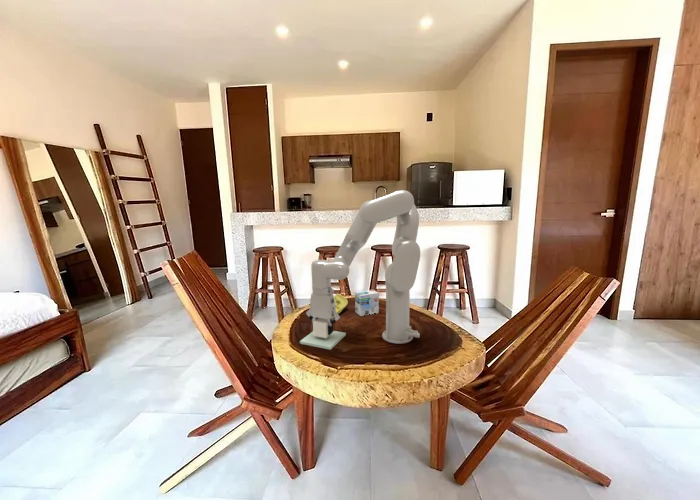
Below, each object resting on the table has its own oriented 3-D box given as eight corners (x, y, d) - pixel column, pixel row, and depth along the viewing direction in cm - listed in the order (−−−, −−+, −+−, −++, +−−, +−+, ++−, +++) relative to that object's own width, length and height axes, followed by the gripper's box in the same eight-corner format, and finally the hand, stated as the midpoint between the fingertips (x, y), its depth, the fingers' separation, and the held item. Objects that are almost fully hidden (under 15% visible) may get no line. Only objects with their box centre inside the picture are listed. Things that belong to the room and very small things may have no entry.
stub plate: (345, 335, 130) (345, 326, 130) (330, 349, 118) (330, 340, 117) (317, 330, 136) (317, 321, 135) (299, 343, 123) (299, 334, 123)
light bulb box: (360, 316, 151) (360, 295, 149) (354, 312, 157) (354, 292, 155) (379, 313, 155) (379, 292, 153) (373, 308, 161) (373, 289, 159)
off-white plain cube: (333, 332, 128) (332, 318, 127) (326, 338, 122) (325, 324, 122) (320, 330, 130) (320, 316, 129) (313, 335, 125) (312, 321, 124)
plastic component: (331, 316, 145) (315, 305, 149) (326, 328, 148) (310, 317, 152) (351, 301, 162) (336, 291, 165) (346, 312, 165) (331, 302, 168)
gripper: (344, 290, 123) (346, 332, 126) (308, 286, 130) (310, 326, 133) (336, 295, 117) (338, 339, 119) (298, 291, 124) (300, 332, 126)
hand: (323, 332), depth 126 cm, fingers closed on off-white plain cube, 5 cm apart
